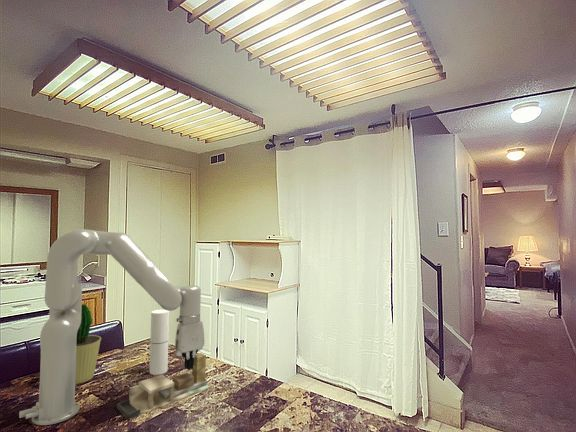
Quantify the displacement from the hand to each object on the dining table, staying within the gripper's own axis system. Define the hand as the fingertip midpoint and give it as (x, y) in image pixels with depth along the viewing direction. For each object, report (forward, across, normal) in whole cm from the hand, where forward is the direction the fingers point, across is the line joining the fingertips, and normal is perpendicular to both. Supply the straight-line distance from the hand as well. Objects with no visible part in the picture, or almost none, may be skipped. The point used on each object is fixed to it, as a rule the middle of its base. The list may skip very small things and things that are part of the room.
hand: (189, 368), depth 124 cm
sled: (+7, -2, 0) cm, 7 cm away
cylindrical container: (+8, -1, +24) cm, 25 cm away
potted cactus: (+8, -27, +40) cm, 49 cm away
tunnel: (+8, -10, 0) cm, 12 cm away
